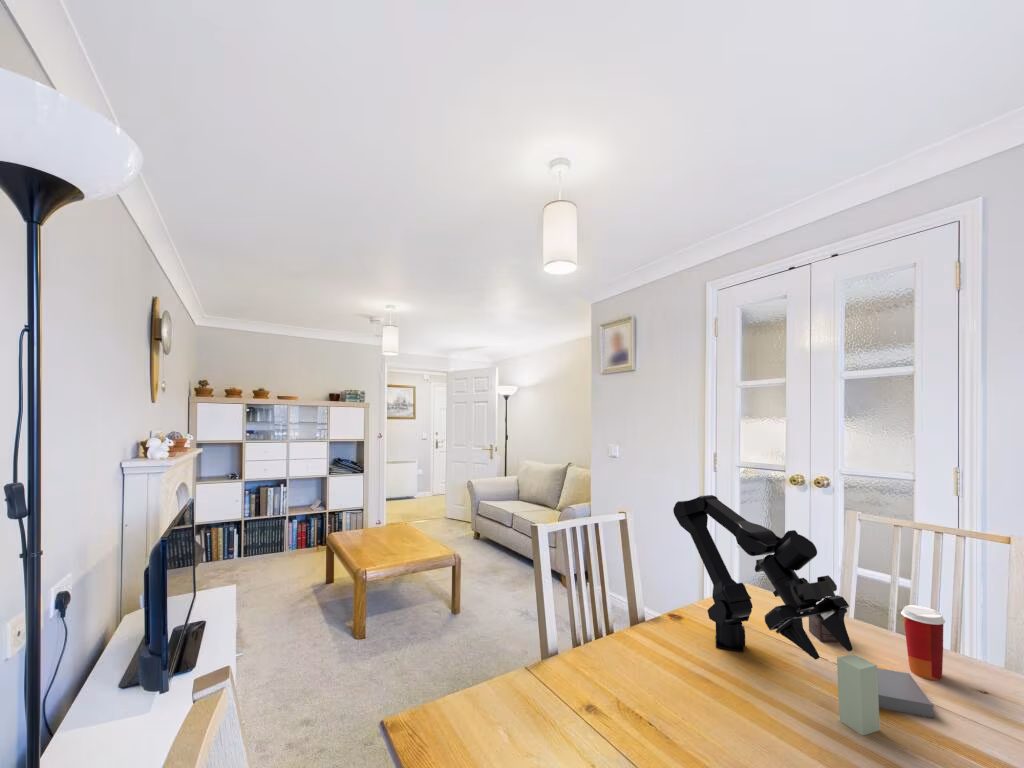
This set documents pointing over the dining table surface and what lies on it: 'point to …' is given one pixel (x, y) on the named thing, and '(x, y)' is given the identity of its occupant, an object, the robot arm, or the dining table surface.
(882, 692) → the slate slab
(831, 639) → the box
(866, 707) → the sage block
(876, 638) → the dining table surface
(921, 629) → the paper cup
